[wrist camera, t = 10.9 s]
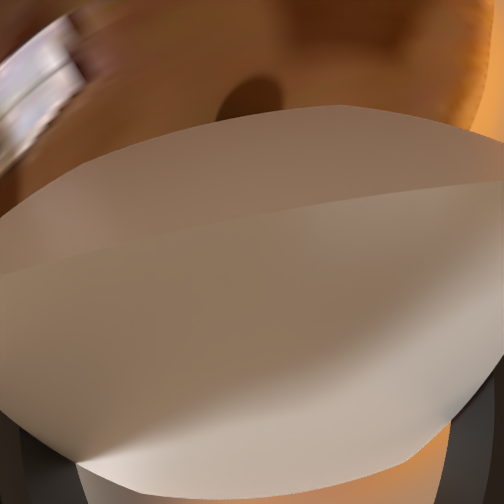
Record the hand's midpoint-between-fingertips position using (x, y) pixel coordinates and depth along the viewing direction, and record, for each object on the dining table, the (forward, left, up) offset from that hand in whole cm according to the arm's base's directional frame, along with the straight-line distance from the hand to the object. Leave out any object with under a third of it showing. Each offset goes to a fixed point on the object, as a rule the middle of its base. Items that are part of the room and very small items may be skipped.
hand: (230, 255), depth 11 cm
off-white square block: (0, 0, -1) cm, 1 cm away
